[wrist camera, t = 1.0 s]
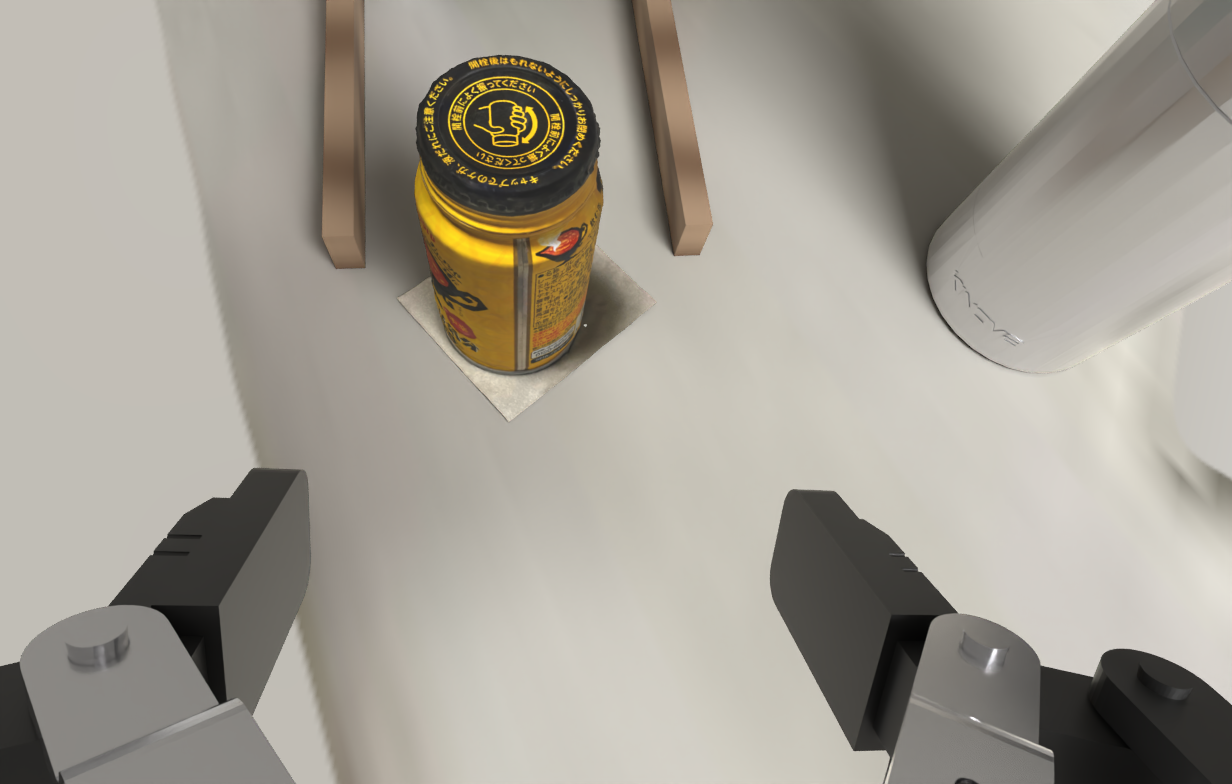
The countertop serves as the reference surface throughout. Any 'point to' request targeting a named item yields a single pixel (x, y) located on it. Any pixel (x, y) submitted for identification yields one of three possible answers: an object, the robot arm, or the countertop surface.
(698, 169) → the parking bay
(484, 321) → the condiment
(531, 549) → the countertop surface
